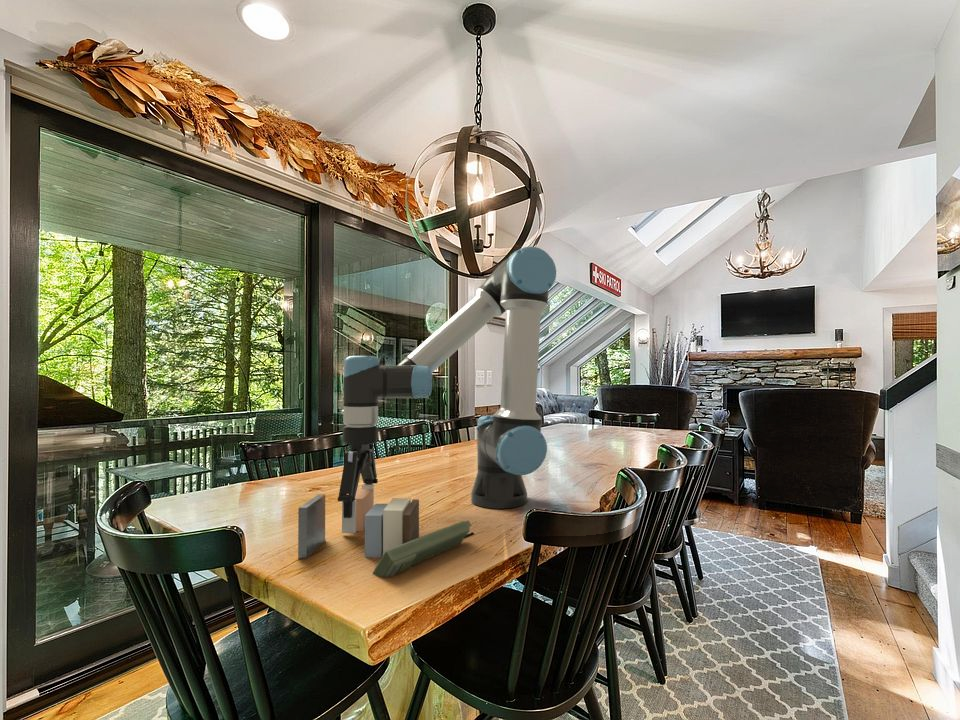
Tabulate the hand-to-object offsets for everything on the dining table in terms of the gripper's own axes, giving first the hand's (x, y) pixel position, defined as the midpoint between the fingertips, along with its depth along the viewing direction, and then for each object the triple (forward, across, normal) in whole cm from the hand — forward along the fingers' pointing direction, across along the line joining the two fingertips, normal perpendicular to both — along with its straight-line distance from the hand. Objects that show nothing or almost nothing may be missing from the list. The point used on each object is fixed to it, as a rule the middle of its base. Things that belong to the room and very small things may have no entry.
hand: (358, 522), depth 98 cm
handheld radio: (+2, +14, +17) cm, 23 cm away
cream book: (0, +14, +12) cm, 18 cm away
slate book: (0, +14, +8) cm, 16 cm away
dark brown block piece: (+2, +14, +4) cm, 15 cm away
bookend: (+1, +14, -5) cm, 15 cm away
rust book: (+2, 0, 0) cm, 2 cm away
